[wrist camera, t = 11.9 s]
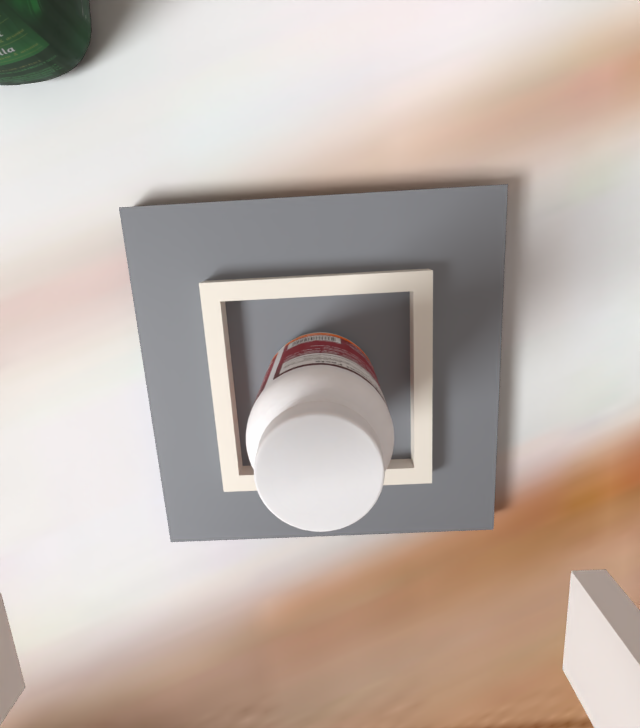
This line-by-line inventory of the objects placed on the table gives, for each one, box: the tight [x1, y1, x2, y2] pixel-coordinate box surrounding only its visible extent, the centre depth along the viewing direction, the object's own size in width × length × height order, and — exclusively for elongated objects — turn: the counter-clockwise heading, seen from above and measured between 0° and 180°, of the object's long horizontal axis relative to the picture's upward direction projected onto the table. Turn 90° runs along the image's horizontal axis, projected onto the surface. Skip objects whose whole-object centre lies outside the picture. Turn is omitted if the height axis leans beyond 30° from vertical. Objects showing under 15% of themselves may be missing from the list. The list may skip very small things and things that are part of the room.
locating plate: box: [119, 184, 508, 542], centre depth 28 cm, size 20×20×3 cm
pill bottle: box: [246, 332, 394, 532], centre depth 23 cm, size 6×6×11 cm
